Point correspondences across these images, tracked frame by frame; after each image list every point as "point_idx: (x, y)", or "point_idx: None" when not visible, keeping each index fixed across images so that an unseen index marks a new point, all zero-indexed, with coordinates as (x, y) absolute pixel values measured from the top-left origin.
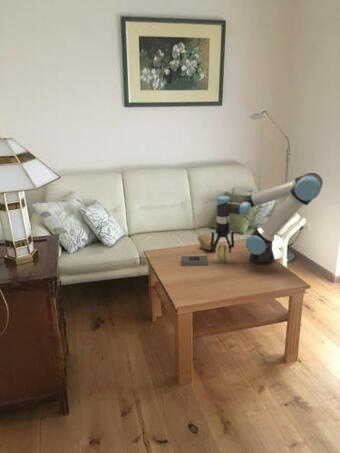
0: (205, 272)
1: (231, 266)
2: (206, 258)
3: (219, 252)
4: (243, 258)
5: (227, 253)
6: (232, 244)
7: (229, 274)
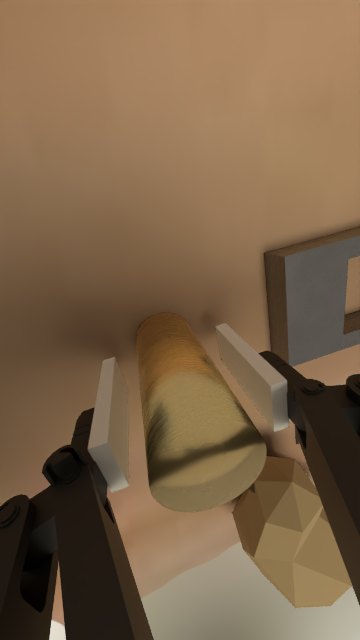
0: (287, 82)
1: (67, 274)
2: (293, 318)
3: (213, 365)
4: (9, 443)
5: (123, 405)
6: (8, 557)
7: (34, 44)
